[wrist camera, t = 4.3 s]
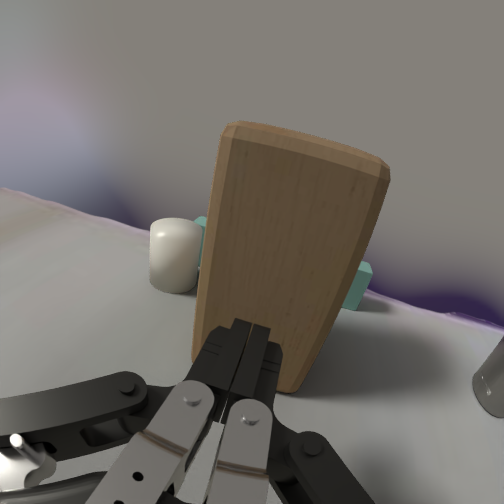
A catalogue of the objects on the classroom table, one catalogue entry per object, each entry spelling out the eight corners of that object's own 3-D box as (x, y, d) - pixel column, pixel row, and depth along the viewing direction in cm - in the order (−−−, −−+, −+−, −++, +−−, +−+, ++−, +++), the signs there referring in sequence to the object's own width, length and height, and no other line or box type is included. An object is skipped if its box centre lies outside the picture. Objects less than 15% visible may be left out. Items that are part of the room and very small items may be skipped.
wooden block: (303, 328, 31) (365, 151, 21) (296, 399, 22) (400, 165, 13) (219, 305, 31) (254, 121, 22) (186, 368, 23) (218, 117, 14)
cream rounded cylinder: (203, 274, 36) (209, 225, 33) (184, 299, 31) (189, 245, 28) (163, 261, 37) (166, 214, 34) (140, 283, 32) (140, 230, 29)
